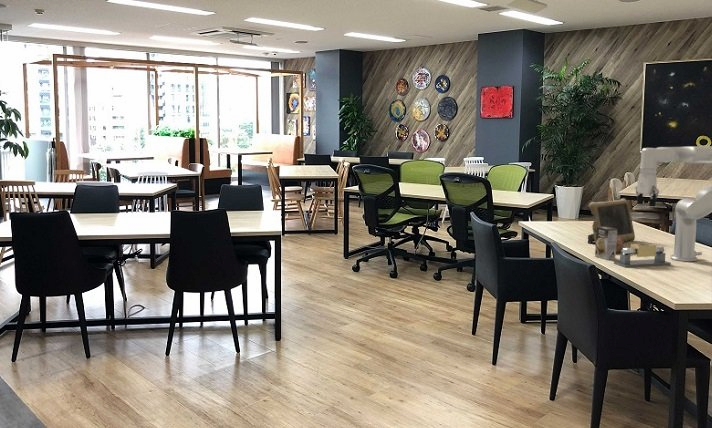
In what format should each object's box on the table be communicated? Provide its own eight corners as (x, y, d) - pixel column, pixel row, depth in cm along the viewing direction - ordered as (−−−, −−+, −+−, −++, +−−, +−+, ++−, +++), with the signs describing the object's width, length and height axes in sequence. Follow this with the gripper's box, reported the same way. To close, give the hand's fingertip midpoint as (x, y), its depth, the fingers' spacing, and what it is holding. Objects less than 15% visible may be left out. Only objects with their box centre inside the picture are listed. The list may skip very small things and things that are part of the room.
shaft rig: (658, 261, 338) (659, 245, 337) (670, 265, 330) (671, 248, 328) (613, 263, 333) (614, 247, 331) (624, 267, 324) (626, 250, 323)
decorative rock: (602, 248, 371) (603, 231, 370) (623, 250, 367) (624, 232, 366) (601, 253, 359) (602, 235, 358) (623, 254, 355) (624, 236, 354)
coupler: (638, 257, 326) (638, 245, 326) (630, 254, 332) (630, 243, 332) (655, 256, 329) (656, 244, 328) (647, 254, 335) (648, 242, 334)
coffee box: (594, 256, 350) (596, 226, 347) (604, 255, 352) (606, 226, 349) (605, 260, 341) (607, 229, 339) (616, 259, 343) (617, 228, 341)
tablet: (605, 247, 376) (608, 203, 372) (584, 243, 386) (586, 201, 383) (636, 241, 395) (639, 199, 392) (615, 237, 406) (617, 197, 403)
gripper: (631, 170, 346) (629, 203, 348) (652, 173, 329) (650, 207, 331) (643, 170, 347) (641, 202, 350) (665, 173, 331) (663, 207, 333)
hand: (646, 205), depth 341 cm, fingers open, 9 cm apart
